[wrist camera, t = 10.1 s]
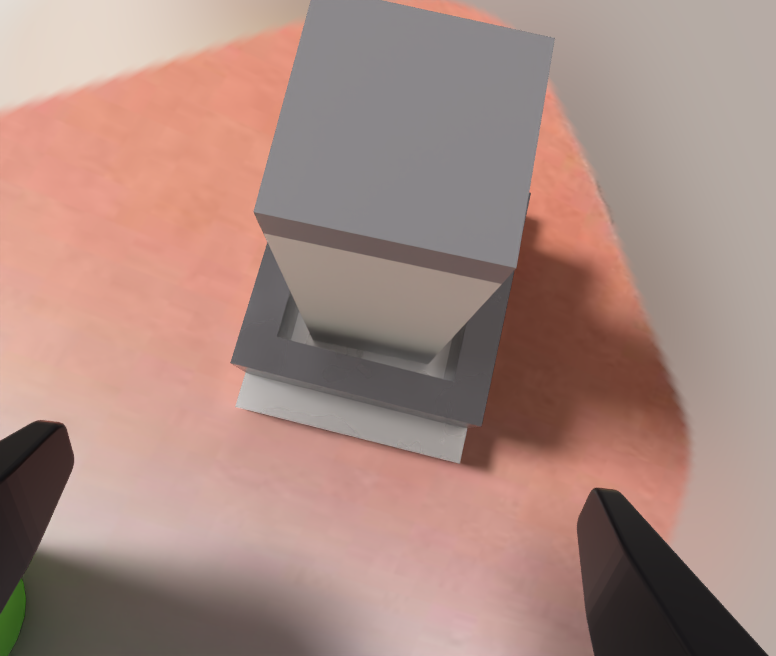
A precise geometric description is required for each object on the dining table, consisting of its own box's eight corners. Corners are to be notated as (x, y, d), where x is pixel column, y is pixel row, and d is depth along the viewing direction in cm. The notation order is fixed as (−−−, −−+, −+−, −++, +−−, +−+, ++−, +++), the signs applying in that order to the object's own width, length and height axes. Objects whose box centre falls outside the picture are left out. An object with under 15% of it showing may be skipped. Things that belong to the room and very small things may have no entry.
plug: (427, 364, 22) (516, 267, 10) (312, 340, 22) (253, 211, 10) (448, 254, 23) (554, 38, 10) (338, 231, 23) (314, -14, 10)
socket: (453, 462, 23) (476, 467, 18) (243, 409, 23) (215, 401, 18) (508, 210, 25) (540, 160, 20) (316, 162, 25) (307, 101, 20)
